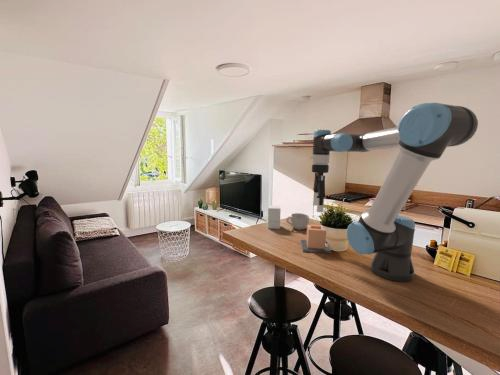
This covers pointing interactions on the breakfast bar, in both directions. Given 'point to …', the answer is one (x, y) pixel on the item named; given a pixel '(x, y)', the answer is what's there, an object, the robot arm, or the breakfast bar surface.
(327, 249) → the board
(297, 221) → the teacup
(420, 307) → the breakfast bar surface
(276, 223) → the supplement box
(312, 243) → the pink square pen holder
